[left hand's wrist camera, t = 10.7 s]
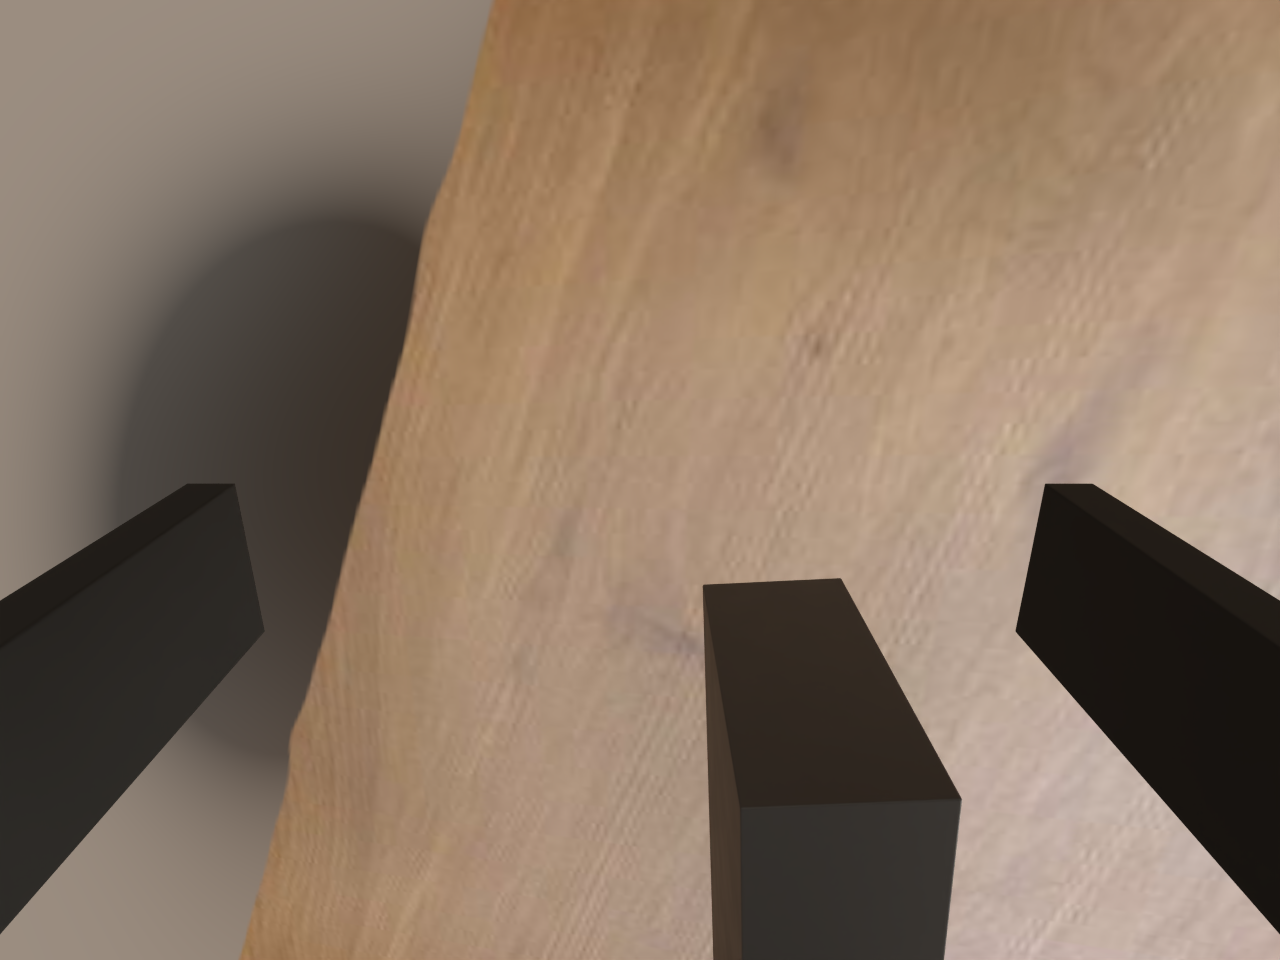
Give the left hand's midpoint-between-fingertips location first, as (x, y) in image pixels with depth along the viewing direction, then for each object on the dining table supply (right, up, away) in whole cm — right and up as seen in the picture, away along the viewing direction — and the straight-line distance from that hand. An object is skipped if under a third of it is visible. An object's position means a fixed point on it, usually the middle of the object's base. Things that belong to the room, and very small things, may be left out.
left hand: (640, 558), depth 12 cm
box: (+6, -15, +24) cm, 29 cm away
